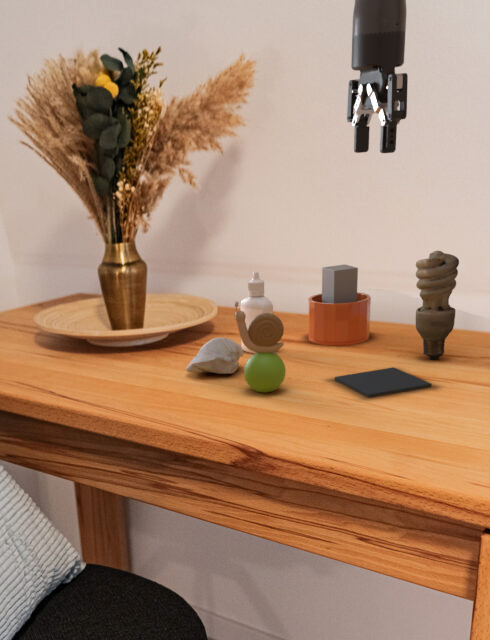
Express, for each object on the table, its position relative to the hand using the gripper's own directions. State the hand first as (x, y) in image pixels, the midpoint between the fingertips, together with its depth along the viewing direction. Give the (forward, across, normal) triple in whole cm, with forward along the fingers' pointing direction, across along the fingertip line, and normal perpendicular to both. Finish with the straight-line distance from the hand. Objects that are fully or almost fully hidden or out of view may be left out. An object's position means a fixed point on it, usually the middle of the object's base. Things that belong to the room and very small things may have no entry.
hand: (373, 152), depth 129 cm
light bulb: (+27, -23, +2) cm, 35 cm away
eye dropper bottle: (+27, -6, +22) cm, 35 cm away
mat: (+27, -30, +13) cm, 43 cm away
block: (+26, -5, +8) cm, 28 cm away
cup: (+27, -5, +8) cm, 28 cm away
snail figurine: (+27, -26, +29) cm, 47 cm away
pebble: (+27, -14, +31) cm, 44 cm away
